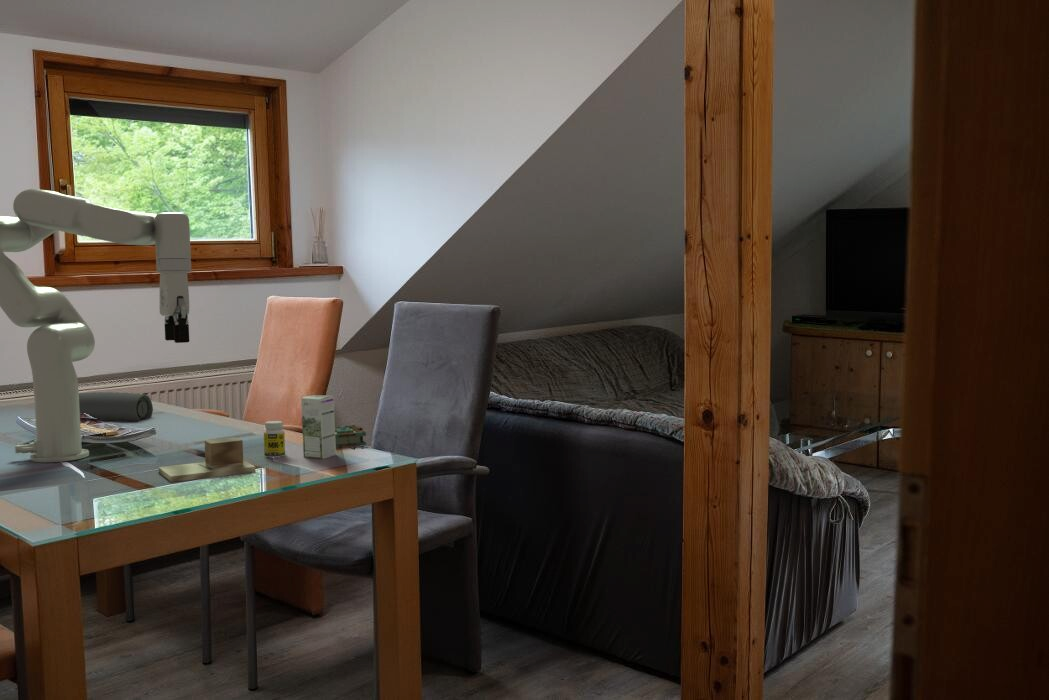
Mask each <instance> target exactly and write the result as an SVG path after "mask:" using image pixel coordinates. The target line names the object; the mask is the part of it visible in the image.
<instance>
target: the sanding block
mask: <svg viewBox="0 0 1049 700" xmlns="http://www.w3.org/2000/svg"><path fill="white" fill-rule="evenodd" d="M243 442H244V441H243V440H242V439H240V438H238V437H236V436H235V437H225V438H215V439H205V440H204V456H205V457H204V459H205V460H204V462H205V463H206V465H207V466H208V467H210V468H220V467H228V466H237V465H243V460H244V444H243Z"/></svg>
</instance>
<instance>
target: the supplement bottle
mask: <svg viewBox="0 0 1049 700" xmlns="http://www.w3.org/2000/svg"><path fill="white" fill-rule="evenodd" d="M283 423H284V422H283V421H281V420H270V421H266V422H264V425H265V426H264V428H265V430H264V431H263V447H264V448H263V450H264V452H263V453H264V457H265V456H266V457H265V458H268V457H277V458H281V457H280V456H283V457H285V456H284V455H286V449H285V448H286V445H285V442H286V439H285V430H284V429H283V427H284V425H283Z"/></svg>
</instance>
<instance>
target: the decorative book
mask: <svg viewBox="0 0 1049 700" xmlns="http://www.w3.org/2000/svg"><path fill="white" fill-rule="evenodd" d="M364 436H365V437H367V432H366V431H365V430H364V428H363V427H361V426H359V425H358V426H357V425H356V424H354V423H353V424H350V425H342V426H335V442H336V448H344V447H345V448H346V447H350V448H351V449H352V450H356V449H357V447H358V446H362V448H361V449H362V450H364V448H363V446H367V442H366V441H364Z"/></svg>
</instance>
